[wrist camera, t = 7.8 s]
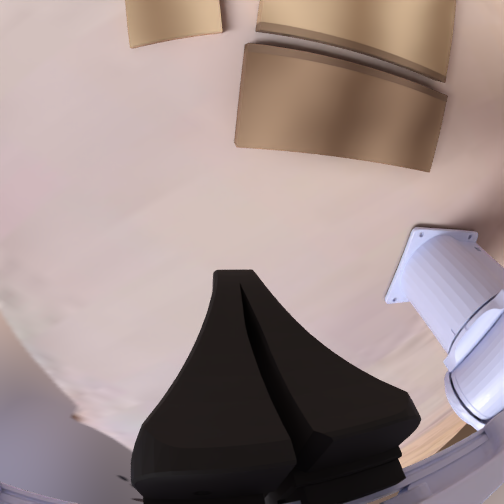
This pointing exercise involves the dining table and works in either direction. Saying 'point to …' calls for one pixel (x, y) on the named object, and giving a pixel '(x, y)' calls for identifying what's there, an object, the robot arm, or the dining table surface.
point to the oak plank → (370, 28)
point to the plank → (170, 20)
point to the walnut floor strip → (335, 109)
